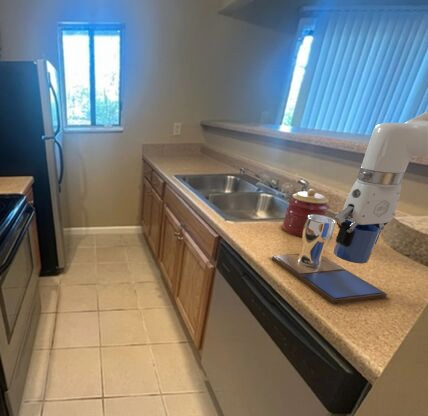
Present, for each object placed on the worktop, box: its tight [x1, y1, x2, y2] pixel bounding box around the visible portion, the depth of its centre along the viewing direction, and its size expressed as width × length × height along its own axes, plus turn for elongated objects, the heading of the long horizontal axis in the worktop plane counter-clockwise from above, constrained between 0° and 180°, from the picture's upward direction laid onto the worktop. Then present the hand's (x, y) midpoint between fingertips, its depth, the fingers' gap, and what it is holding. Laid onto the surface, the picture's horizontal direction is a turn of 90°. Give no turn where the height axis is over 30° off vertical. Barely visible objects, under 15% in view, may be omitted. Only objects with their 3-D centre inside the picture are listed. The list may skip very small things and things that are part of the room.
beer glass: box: [297, 215, 337, 267], centre depth 84 cm, size 7×7×15 cm
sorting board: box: [271, 253, 388, 305], centre depth 81 cm, size 16×22×1 cm
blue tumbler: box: [333, 222, 381, 264], centre depth 71 cm, size 7×7×9 cm
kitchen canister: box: [282, 188, 331, 238], centre depth 107 cm, size 13×13×18 cm
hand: (355, 242), depth 72 cm, fingers closed on blue tumbler, 7 cm apart
